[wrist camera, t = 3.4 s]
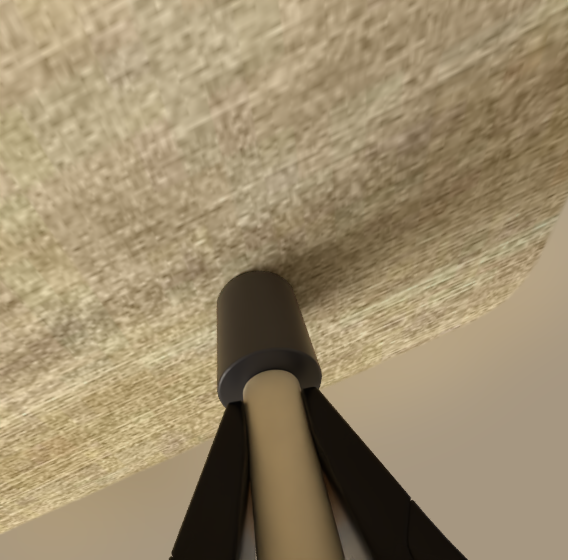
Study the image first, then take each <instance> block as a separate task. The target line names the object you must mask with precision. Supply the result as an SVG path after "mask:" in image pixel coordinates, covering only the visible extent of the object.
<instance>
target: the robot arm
mask: <svg viewBox="0 0 568 560" xmlns="http://www.w3.org/2000/svg"><path fill="white" fill-rule="evenodd" d="M301 395H302V399H303V402H304V406H305V410H306V414H307V418H308V422H309V426H310V429H311V433H312V437H313V441H314V444H315V447H316V450H317V454H318V457H319V461H320V464H321V468H322V472H323V476H324V480H325V483H326V487H327V491H328V495H329V499H330V502H331V506H332V510H333V514H334V518H335V522H336V525H337V529H338V533H339V537H340V541H341V544H342V548H343V552H344V556H345V560H468V559H467V558H465V556H464V555H463V554H462V553H461V552H460V551H459V550H458V549H456V547H455V546H454V545H453V544H452V543H451V542H450V541H449V540H448V539H447V538H446V537H445V536H444V535H443V534H442V532H441V531H440V530H439V529H438V528H437V527H436V526H435V525H434V523H433V522H432V521H431V520H430V519H429V518H428V517H427V516H426V515H425V513H424V512H423V511H422V510H421V509H420V507H419V506H418V505H417V504H416V503H415V502H414V501H413V500H411V498H410V496H409V495H408V494H407V493H406V491H405V490H404V489H403V488H402V487H401V485H400V484H399V483H398V482H397V481H396V480H395V478H394V477H393V476H392V475H391V474H390V472H389V471H388V470H387V469H386V468H385V467H384V465H383V464H382V463H381V462H380V461H379V460H378V458H377V457H376V456H375V455H374V454H373V453H372V451H371V450H370V449H369V448H368V447H367V446H366V445H365V443H364V442H363V441H362V440H361V438H360V437H359V436H358V435H357V434H356V433H355V432H354V431H353V429H352V428H351V427H350V426H349V424H348V423H347V422H346V421H345V420H344V419H343V417H342V416H341V415H340V414H339V413H338V412H337V410H336V409H335V408H334V407H333V406H332V404H331V403H330V402H329V401H328V400H327V399H326V398H325V396H324V395H323V394H322V393H321V392H320V390H319V389H318V388H317V387H309V388H304V389H302V391H301ZM172 556H173V557H172ZM172 556H171V557H170V558H169V560H256V545H255V533H254V521H253V509H252V496H251V484H250V472H249V451H248V439H247V427H246V415H245V405H244V402H243V401H242V400H240V401H234V402H230V403H228V405H227V407H226V409H225V412H224V415H223V417H222V420H221V423H220V425H219V428H218V430H217V433H216V436H215V438H214V441H213V444H212V446H211V449H210V452H209V454H208V457H207V460H206V462H205V465H204V468H203V471H202V473H201V475H200V478H199V481H198V484H197V486H196V489H195V492H194V494H193V497H192V499H191V502H190V505H189V507H188V510H187V513H186V515H185V518H184V521H183V523H182V526H181V528H180V531H179V534H178V536H177V539H176V542H175V544H174V547H173V550H172Z"/></svg>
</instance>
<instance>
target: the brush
mask: <svg viewBox="0 0 568 560" xmlns="http://www.w3.org/2000/svg"><path fill="white" fill-rule="evenodd" d="M321 379H322V373H321V369H320V366H319V363H318V360H317V357H316V354H315V351H314V348H313V346H312V343H311V340H310V337H309V334H308V331H307V328H306V325H305V322H304V320H303V317H302V314H301V311H300V308H299V305H298V302H297V299H296V296H295V294H294V291H293V289H292V287H291V286H290V284H289V283H288V282H287V281H286V280H285V279H283V278H282V277H280V276H278V275H276V274H273V273H270V272H264V271H255V272H248V273H245V274H242V275H239V276H237V277H236V278H234V279H232V280H231V281H230V282H228V284H227V285H226V286H225V287H224V288H223V289H222V291H221V293H220V294H219V297H218V301H217V392H218V397H219V399H220V401H221V403H222V404H223V406H224V407H225V408H226V407H227V405H228V403H230V402H234V401H240V400H242V401H243V402H244V405H245V415H246V427H247V439H248V451H249V472H250V484H251V496H252V509H253V521H254V533H255V545H256V556H257V560H345V556H344V552H343V548H342V544H341V541H340V537H339V533H338V529H337V525H336V522H335V518H334V514H333V510H332V506H331V502H330V499H329V495H328V491H327V487H326V483H325V480H324V476H323V472H322V468H321V464H320V461H319V457H318V454H317V450H316V447H315V444H314V441H313V437H312V433H311V429H310V426H309V422H308V418H307V414H306V410H305V406H304V402H303V399H302V395H301V391H302V389H304V388H309V387H317V388H318V389H319V387H320V384H321Z"/></svg>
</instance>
